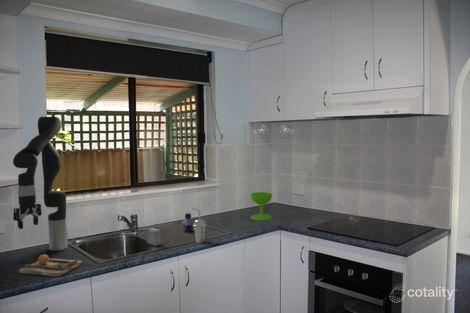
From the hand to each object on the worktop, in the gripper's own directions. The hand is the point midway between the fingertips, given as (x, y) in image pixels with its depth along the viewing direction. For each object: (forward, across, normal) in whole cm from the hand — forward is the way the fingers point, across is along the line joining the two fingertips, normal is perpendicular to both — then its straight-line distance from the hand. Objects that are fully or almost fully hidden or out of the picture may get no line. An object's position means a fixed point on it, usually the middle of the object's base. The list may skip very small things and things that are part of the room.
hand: (28, 226), depth 193 cm
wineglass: (+19, -137, +78) cm, 159 cm away
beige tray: (+20, -2, +12) cm, 23 cm away
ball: (+16, -2, +7) cm, 18 cm away
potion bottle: (+20, -84, +44) cm, 97 cm away
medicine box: (+20, -54, +37) cm, 68 cm away
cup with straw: (+20, -66, +61) cm, 92 cm away
